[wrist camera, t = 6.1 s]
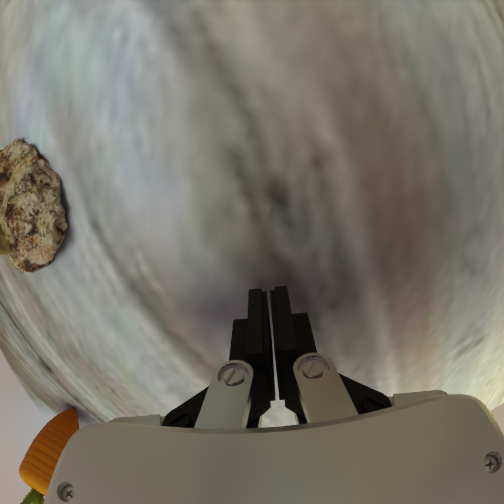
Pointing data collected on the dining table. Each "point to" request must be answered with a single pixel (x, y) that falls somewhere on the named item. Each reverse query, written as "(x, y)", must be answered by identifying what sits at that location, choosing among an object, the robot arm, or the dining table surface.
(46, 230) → the mineral rock
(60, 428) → the carrot
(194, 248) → the dining table surface
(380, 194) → the dining table surface
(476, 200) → the dining table surface
